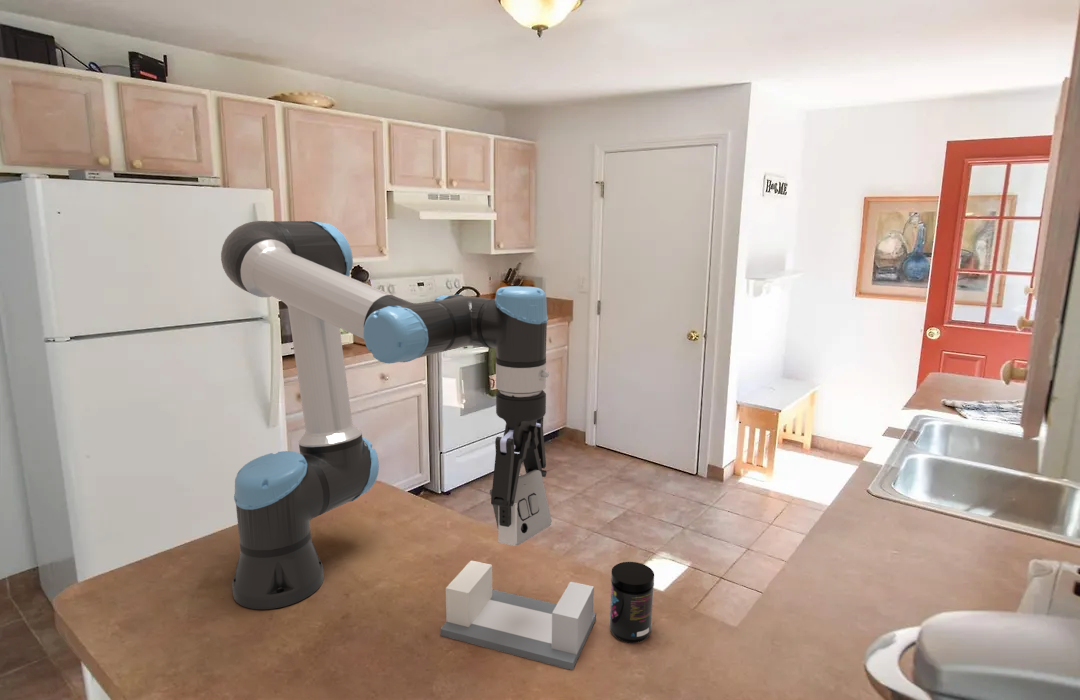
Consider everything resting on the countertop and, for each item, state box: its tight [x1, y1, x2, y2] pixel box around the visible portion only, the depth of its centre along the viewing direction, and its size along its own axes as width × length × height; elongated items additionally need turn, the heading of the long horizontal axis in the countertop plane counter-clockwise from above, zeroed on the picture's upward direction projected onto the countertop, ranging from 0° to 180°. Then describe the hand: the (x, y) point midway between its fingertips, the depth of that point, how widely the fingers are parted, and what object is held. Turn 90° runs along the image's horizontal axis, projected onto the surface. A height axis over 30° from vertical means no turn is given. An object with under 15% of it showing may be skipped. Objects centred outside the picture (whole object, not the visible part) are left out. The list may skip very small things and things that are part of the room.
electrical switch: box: [489, 470, 552, 547], centre depth 98 cm, size 9×5×9 cm, turn 141°
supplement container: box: [609, 561, 655, 644], centre depth 100 cm, size 7×7×10 cm
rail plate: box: [440, 559, 597, 671], centre depth 101 cm, size 22×13×7 cm, turn 70°
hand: (520, 528), depth 98 cm, fingers closed on electrical switch, 9 cm apart
